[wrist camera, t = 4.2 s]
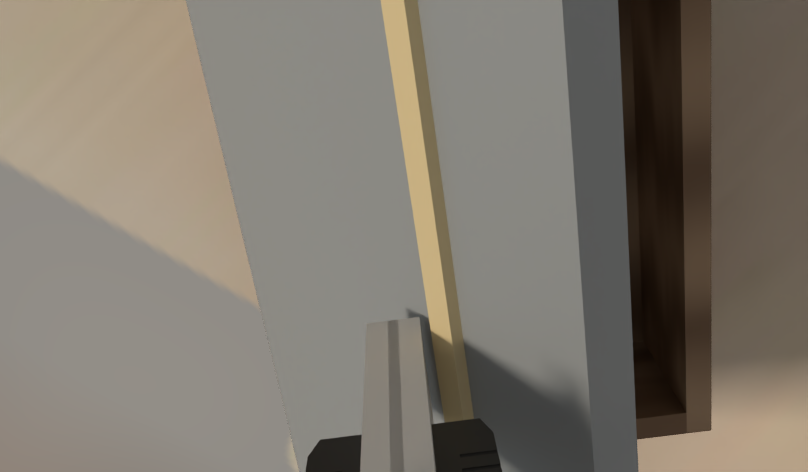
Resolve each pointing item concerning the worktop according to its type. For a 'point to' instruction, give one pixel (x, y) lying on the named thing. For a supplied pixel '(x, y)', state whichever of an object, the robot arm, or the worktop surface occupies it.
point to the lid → (436, 209)
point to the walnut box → (668, 209)
